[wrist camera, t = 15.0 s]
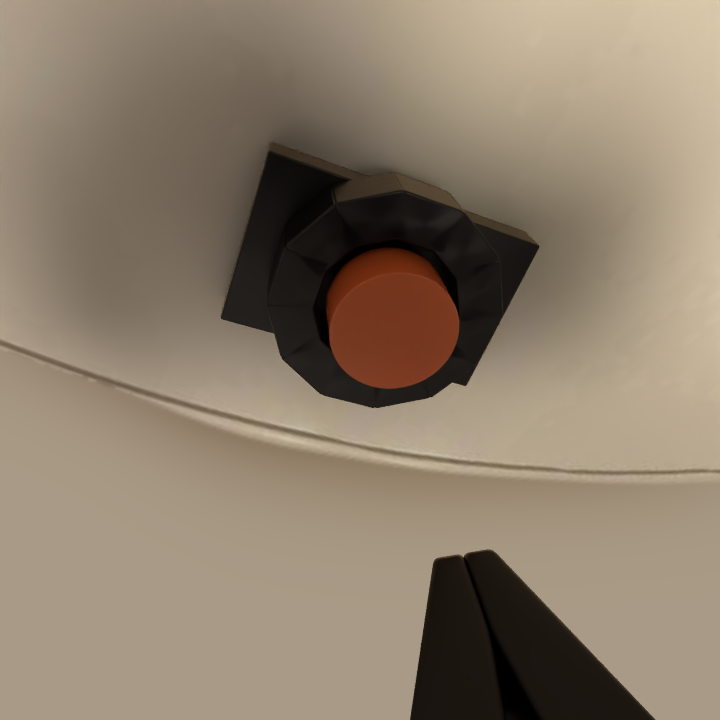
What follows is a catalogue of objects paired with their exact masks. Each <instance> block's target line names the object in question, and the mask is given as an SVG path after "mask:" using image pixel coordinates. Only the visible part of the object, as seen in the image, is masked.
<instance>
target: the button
mask: <svg viewBox="0 0 720 720" xmlns="http://www.w3.org/2000/svg"><path fill="white" fill-rule="evenodd" d="M326 312H327V322H328V331H329V340H330V346H331V350H332V353H333V355H334V357H335V359H336V361H337V362H338V364H339V365H340V367H341V368H342V369H343V370H344V371H345V372H346V373H347V374H349V375H350V376H351V377H353V378H354V379H356V380H357V381H359V382H361V383H363V384H366V385H369V386H372V387H377V388H387V389H390V388H402V387H406V386H410V385H413V384H416V383H419V382H421V381H423V380H425V379H427V378H428V377H430V376H431V375H433V374H434V373H435V372H437V371H438V370H439V369H440V368H441V367H442V366H443V365H444V364H445V362H446V361H447V360H448V359H449V357H450V355H451V354H452V352H453V350H454V348H455V345H456V343H457V339H458V335H459V317H458V312H457V309H456V306H455V304H454V302H453V300H452V298H451V296H450V295H449V293H448V291H447V289H446V287H445V285H444V283H443V281H442V279H441V278H440V276H439V274H438V272H437V271H436V269H435V268H434V267H433V266H432V265H431V264H430V262H429V261H427V260H426V259H425V258H423V257H422V256H420V255H418V254H417V253H414V252H412V251H409V250H406V249H402V248H395V247H384V248H376V249H373V250H369V251H366V252H364V253H361V254H359V255H358V256H356V257H354V258H353V259H351V260H350V261H348V262H347V263H346V264H345V265H344V266H343V267H342V268H341V269H340V270H339V271H338V273H337V274H336V275H335V277H334V279H333V280H332V282H331V285H330V287H329V290H328V293H327V299H326Z"/></svg>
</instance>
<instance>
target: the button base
mask: <svg viewBox="0 0 720 720" xmlns="http://www.w3.org/2000/svg"><path fill="white" fill-rule="evenodd" d="M384 247H395V248H402V249H406V250H409V251H412V252H414V253H417V254H418V255H420V256H422V257H423V258H425V259H426V260H427V261H429V262H430V264H431V265H432V266H433V267H434V268H435V269H436V271H437V272H438V274H439V276H440V278H441V279H442V281H443V283H444V285H445V287H446V289H447V291H448V293H449V295H450V296H451V298H452V300H453V302H454V304H455V306H456V309H457V312H458V317H459V335H458V339H457V343H456V345H455V348H454V350H453V352H452V354H451V355H450V357H449V359H448V360H447V361H446V362H445V364H444V365H443V366H442V367H441V368H440V369H439V370H438V371H437V372H435V373H434V374H433V375H431V376H430V377H428V378H427V379H425V380H423V381H421V382H419V383H416V384H413V385H410V386H406V387H402V388H390V389H387V388H377V387H372V386H369V385H366V384H363V383H361V382H359V381H357V380H356V379H354V378H353V377H351V376H350V375H349V374H347V373H346V372H345V371H344V370H343V369H342V368H341V367H340V365H339V364H338V362H337V361H336V359H335V357H334V355H333V353H332V350H331V346H330V340H329V331H328V322H327V312H326V299H327V293H328V290H329V287H330V285H331V282H332V280H333V279H334V277H335V275H336V274H337V273H338V271H339V270H340V269H341V268H342V267H343V266H344V265H345V264H346V263H347V262H348V261H350V260H351V259H353V258H354V257H356V256H358V255H359V254H361V253H364V252H366V251H369V250H373V249H376V248H384ZM538 249H539V245H538V244H537V243H536V242H535V241H534V240H533V239H532V238H531V237H530V236H529V235H528V234H527V233H526V232H523V231H521V230H518V229H515V228H512V227H509V226H507V225H504V224H501V223H498V222H495V221H493V220H490V219H487V218H484V217H481V216H478V215H476V214H473V213H470V212H467V211H464V210H463V209H462V208H461V206H460V205H459V204H458V203H457V201H456V200H455V199H454V198H453V196H452V195H451V194H450V193H448V192H447V191H444V190H442V189H439V188H436V187H433V186H431V185H428V184H425V183H422V182H420V181H417V180H414V179H411V178H409V177H406V176H403V175H400V174H397V173H392V172H390V173H385V174H379V175H374V176H366V175H363V174H360V173H358V172H355V171H352V170H349V169H346V168H344V167H341V166H338V165H335V164H332V163H330V162H327V161H324V160H321V159H318V158H315V157H313V156H310V155H307V154H304V153H301V152H299V151H296V150H293V149H290V148H287V147H285V146H282V145H279V144H276V143H273V142H270V143H269V146H268V150H267V154H266V157H265V161H264V164H263V168H262V171H261V175H260V178H259V182H258V185H257V189H256V192H255V196H254V199H253V203H252V206H251V210H250V213H249V217H248V220H247V224H246V227H245V231H244V234H243V238H242V241H241V245H240V248H239V252H238V255H237V259H236V263H235V266H234V270H233V273H232V277H231V280H230V284H229V287H228V291H227V294H226V298H225V301H224V306H223V310H222V314H221V319H223V320H227V321H230V322H234V323H238V324H241V325H245V326H249V327H252V328H256V329H260V330H263V331H267V332H271V333H274V334H275V338H276V342H277V345H278V349H279V352H280V355H281V357H282V359H283V360H284V361H285V362H286V363H287V364H288V365H289V366H290V367H291V368H293V369H294V370H295V371H296V372H297V373H298V374H299V375H300V376H301V377H302V378H303V379H305V380H306V381H307V382H308V383H309V384H310V385H311V386H312V387H313V388H314V389H315V390H317V391H318V392H319V393H320V394H322V395H324V396H328V397H332V398H336V399H340V400H344V401H348V402H352V403H356V404H360V405H364V406H368V407H372V408H375V407H376V408H380V407H385V406H390V405H395V404H400V403H405V402H411V401H416V400H421V399H426V398H429V397H433V396H434V395H435V394H437V393H438V392H440V391H441V390H442V389H444V388H445V387H447V386H448V385H449V384H451V383H452V382H453V383H456V384H460V385H464V386H466V385H467V383H468V381H469V380H470V378H471V376H472V374H473V372H474V370H475V368H476V366H477V364H478V363H479V361H480V359H481V357H482V355H483V353H484V351H485V349H486V347H487V345H488V344H489V342H490V340H491V338H492V336H493V334H494V332H495V330H496V328H497V326H498V325H499V323H500V321H501V319H502V317H503V315H504V313H505V311H506V309H507V308H508V306H509V304H510V302H511V300H512V298H513V296H514V294H515V292H516V290H517V289H518V287H519V285H520V283H521V281H522V279H523V277H524V275H525V273H526V271H527V270H528V268H529V266H530V264H531V262H532V260H533V258H534V256H535V254H536V253H537V251H538Z"/></svg>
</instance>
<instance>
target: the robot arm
mask: <svg viewBox="0 0 720 720" xmlns="http://www.w3.org/2000/svg"><path fill="white" fill-rule="evenodd" d="M410 720H655V719H654V718H653V717H652V716H651V715H650V714H649V712H648V711H647V710H646V709H645V708H644V707H643V706H642V705H641V704H640V703H639V702H638V701H637V700H636V699H635V698H634V697H633V696H632V695H631V694H630V693H629V692H628V691H627V689H626V688H625V687H624V686H623V685H622V684H621V683H620V682H619V681H618V680H617V679H616V678H615V677H614V676H613V675H612V674H611V673H610V672H609V671H608V670H607V668H606V667H604V665H603V664H602V663H601V662H600V661H599V660H598V659H597V658H596V657H595V656H594V655H593V654H592V653H591V652H590V651H589V650H588V649H587V648H586V647H585V645H584V644H582V642H581V641H580V640H579V639H578V638H577V637H576V636H575V635H574V634H573V633H572V632H571V631H570V630H569V629H568V628H567V627H566V626H565V625H564V623H563V622H562V621H561V620H560V619H559V618H558V617H557V616H556V615H555V614H554V613H553V612H552V611H551V610H550V609H549V608H548V607H547V606H546V605H545V604H544V603H543V602H542V600H541V599H540V598H539V597H538V596H537V595H536V594H535V593H534V592H533V591H532V590H531V589H530V588H529V587H528V586H527V585H526V584H525V583H524V582H523V581H522V579H521V578H520V577H519V576H518V575H517V574H516V573H515V572H514V571H513V570H512V569H511V568H510V567H509V566H508V565H507V564H506V563H505V562H504V561H503V560H502V559H501V558H500V557H499V555H498V554H497V553H495V552H494V551H492V550H482V551H476V552H470V553H467V554H465V556H464V558H463V557H462V556H461V555H452V556H446V557H440V558H437V559H435V561H434V563H433V568H432V575H431V581H430V589H429V595H428V602H427V609H426V616H425V622H424V629H423V636H422V643H421V650H420V657H419V663H418V670H417V677H416V683H415V690H414V697H413V704H412V710H411V717H410Z"/></svg>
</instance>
